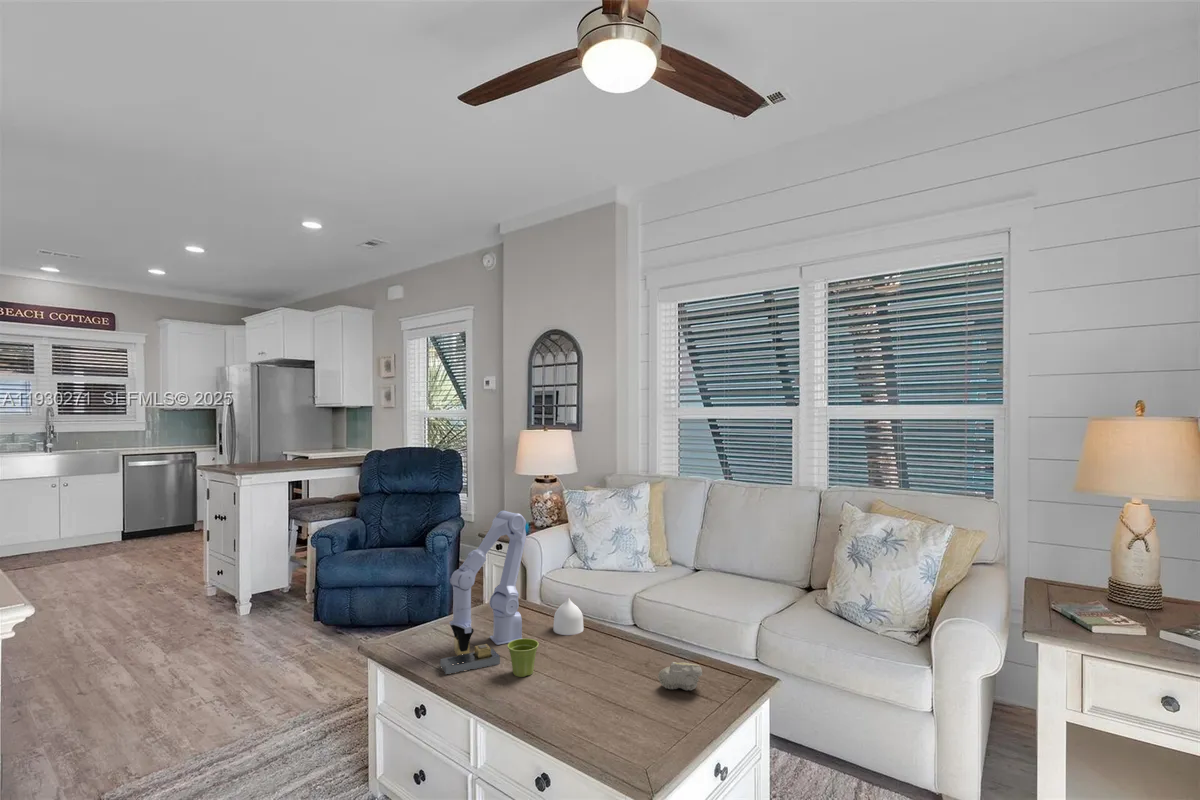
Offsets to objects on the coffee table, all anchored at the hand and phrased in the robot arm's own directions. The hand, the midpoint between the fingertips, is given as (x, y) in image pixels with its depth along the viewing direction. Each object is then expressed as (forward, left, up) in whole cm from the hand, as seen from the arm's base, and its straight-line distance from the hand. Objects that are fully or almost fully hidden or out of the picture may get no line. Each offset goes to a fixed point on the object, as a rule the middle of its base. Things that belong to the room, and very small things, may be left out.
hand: (461, 648), depth 198 cm
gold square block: (0, 0, -1) cm, 1 cm away
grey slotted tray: (0, +11, -1) cm, 11 cm away
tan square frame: (-4, +11, -2) cm, 12 cm away
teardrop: (-40, -2, -2) cm, 40 cm away
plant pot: (-12, +24, -2) cm, 27 cm away
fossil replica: (-48, +55, -2) cm, 73 cm away
